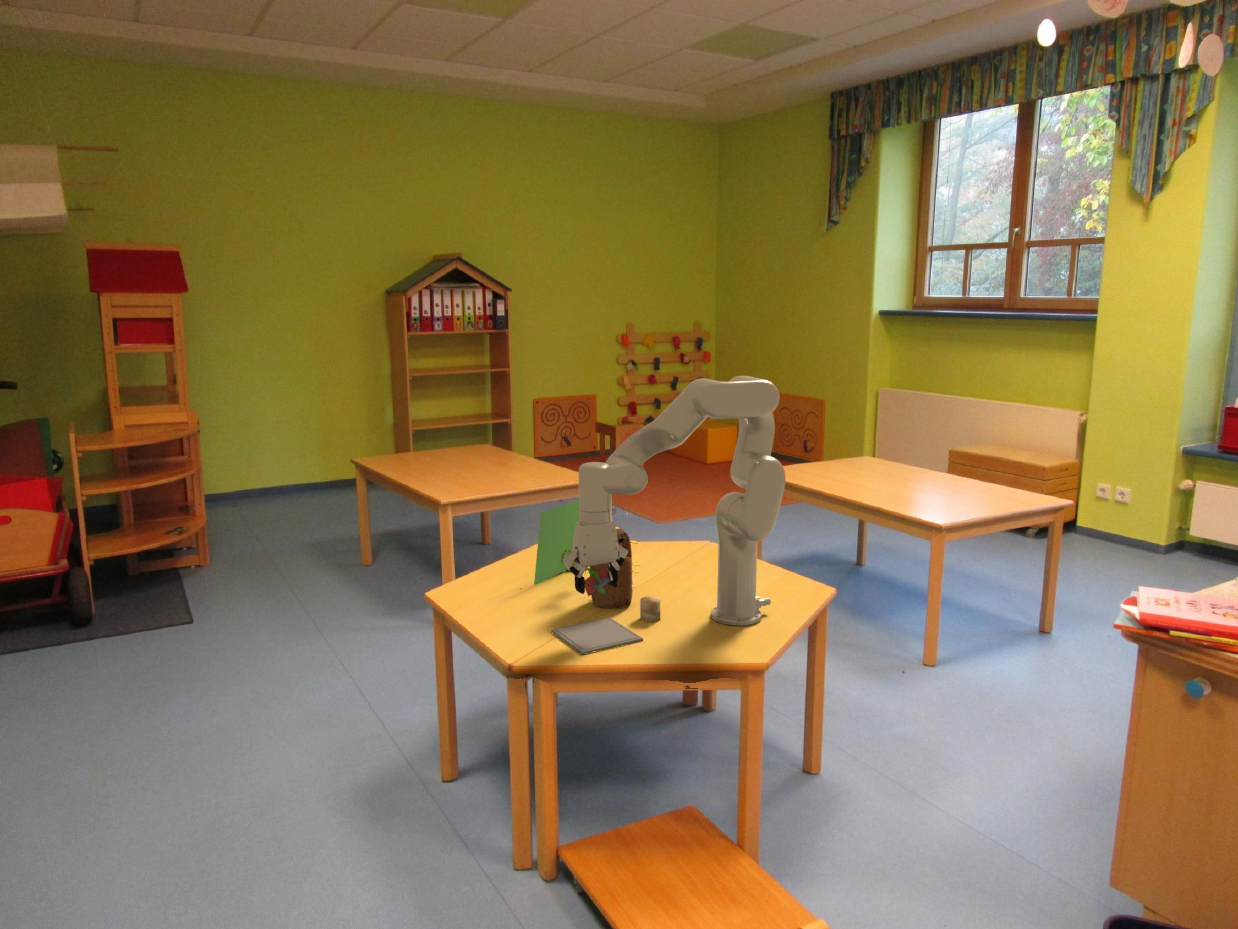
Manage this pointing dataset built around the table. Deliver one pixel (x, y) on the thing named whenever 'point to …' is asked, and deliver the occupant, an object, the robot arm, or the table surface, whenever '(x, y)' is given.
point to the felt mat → (596, 635)
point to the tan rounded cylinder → (650, 609)
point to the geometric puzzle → (597, 581)
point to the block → (623, 591)
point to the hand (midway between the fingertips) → (596, 588)
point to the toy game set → (557, 540)
